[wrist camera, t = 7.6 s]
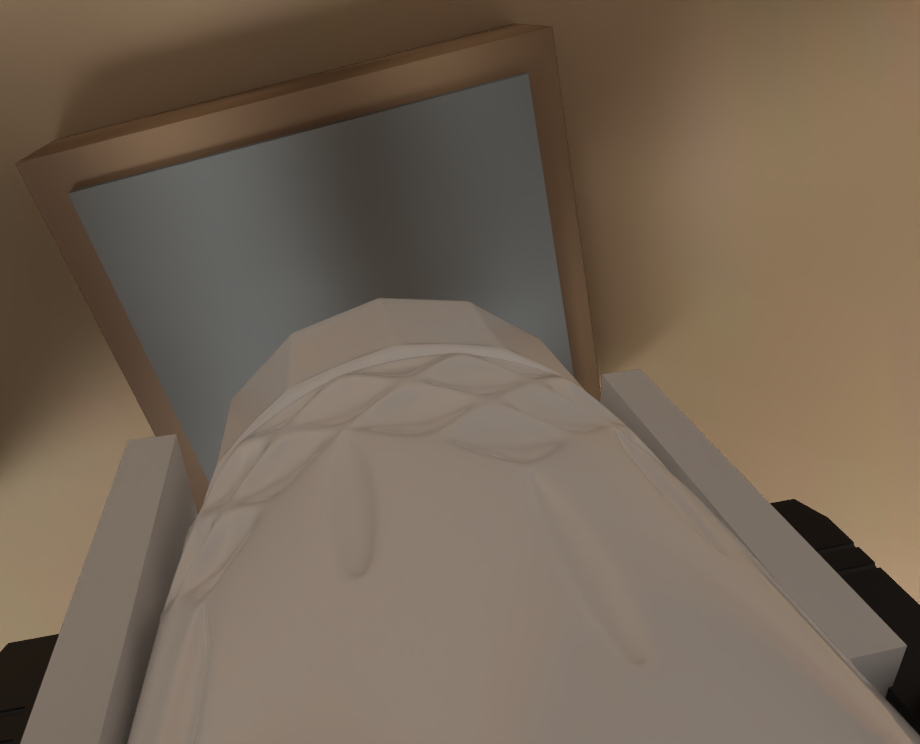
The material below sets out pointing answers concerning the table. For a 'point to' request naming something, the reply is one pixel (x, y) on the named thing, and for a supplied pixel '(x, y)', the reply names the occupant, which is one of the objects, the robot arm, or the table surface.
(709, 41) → the table surface
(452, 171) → the walnut picture frame
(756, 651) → the white cup
